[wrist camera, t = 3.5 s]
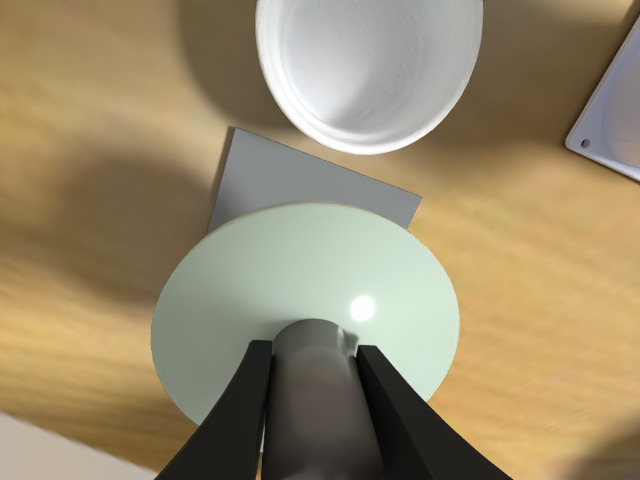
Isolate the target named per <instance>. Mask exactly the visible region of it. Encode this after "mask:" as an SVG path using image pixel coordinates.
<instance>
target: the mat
mask: <svg viewBox="0 0 640 480" xmlns="http://www.w3.org/2000/svg"><path fill="white" fill-rule="evenodd" d="M421 199H422V197H420V196H418V195H416V194H413V193H410V192H408V191H405V190H402V189H400V188H397V187H394V186H392V185H389V184H386V183H384V182H381V181H379V180H376V179H373V178H371V177H368V176H365V175H363V174H360V173H357V172H355V171H352V170H349V169H347V168H344V167H341V166H339V165H336V164H333V163H331V162H328V161H325V160H323V159H320V158H317V157H315V156H312V155H309V154H307V153H304V152H301V151H299V150H296V149H294V148H291V147H288V146H286V145H283V144H280V143H278V142H275V141H272V140H270V139H267V138H264V137H262V136H259V135H256V134H254V133H251V132H248V131H246V130H243V129H240V128H238V127H236V129H235V133H234V136H233V140H232V144H231V147H230V151H229V154H228V158H227V162H226V165H225V169H224V173H223V176H222V180H221V184H220V187H219V191H218V195H217V198H216V202H215V206H214V209H213V213H212V216H211V220H210V224H209V227H208V231H207V235H208V234H209V233H211V232H212V231H214V230H215V229H217V228H218V227H220V226H221V225H223V224H224V223H226V222H228V221H230V220H232V219H234V218H236V217H238V216H240V215H242V214H245V213H247V212H250V211H253V210H256V209H259V208H262V207H265V206H270V205H274V204H279V203H284V202H291V201H304V200H320V201H335V202H340V203H346V204H351V205H356V206H359V207H362V208H365V209H368V210H371V211H374V212H377V213H379V214H381V215H383V216H385V217H387V218H389V219H391V220H393V221H395V222H396V223H398V224H399V225H401V226H402V227H404V228H405V229H407V228H408V226H409V224H410V222H411V220H412V218H413V216H414V213H415V211H416V209H417V207H418V205H419V203H420V201H421Z"/></svg>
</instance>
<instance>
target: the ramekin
mask: <svg viewBox="0 0 640 480" xmlns="http://www.w3.org/2000/svg"><path fill="white" fill-rule="evenodd" d="M482 26H483V0H257V6H256V14H255V33H256V46H257V52H258V58H259V62H260V67H261V69H262V72H263V76H264V78H265V81H266V84H267V87H268V88H269V90H270V92H271V94H272V96H273V98H274V100H275V101H276V103H277V105H278V106H279V108H280V109H281V111H282V112H283V113H284V114H285V116H286V117H287V118H288V119H289V120H290V121H291V123H292V124H293V125H294V126H296V127H297V128H298V129H299V130H300V131H301V132H302V133H304V134H305V135H306V136H308V137H309V138H311V139H312V140H313V141H315V142H317V143H319V144H321V145H323V146H325V147H328V148H330V149H333V150H336V151H339V152H344V153H348V154H356V155H373V154H381V153H386V152H390V151H394V150H397V149H399V148H402V147H405V146H407V145H409V144H411V143H413V142H415V141H416V140H418V139H420V138H421V137H423V136H424V135H426V134H427V133H429V132H430V131H431V130H433V129H434V128H435V127H436V126H437V125H438V124H439V123H440V122H441V121H442V120H443V119H444V118H445V117H446V116H447V114H448V113H449V112H450V111H451V109H452V108H453V107H454V105H455V104H456V102H457V101H458V100H459V98H460V97H461V95H462V93H463V91H464V89H465V87H466V86H467V84H468V81H469V79H470V76H471V74H472V71H473V68H474V66H475V63H476V60H477V56H478V53H479V49H480V44H481V39H482Z"/></svg>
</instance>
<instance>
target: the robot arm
mask: <svg viewBox="0 0 640 480" xmlns="http://www.w3.org/2000/svg"><path fill="white" fill-rule="evenodd" d="M583 140H584V144H583V146H582V147H581V143H582V141H583ZM565 144H566V147H567V148H569V149H571V150H573V151H575V152H577V153H579V154H581V155H584V156H586V157H588V158H590V159H592V160H594V161H597V162H599V163H601V164H603V165H605V166H607V167H610V168H612V169H614V170H616V171H618V172H620V173H623V174H625V175H627V176H629V177H631V178H633V179H635V180H638V181H640V16H639V17H638V19H637V21H636V22H635V24H634V26H633V28H632V29H631V31H630V33H629V34H628V36H627V38H626V39H625V41H624V43H623V44H622V46H621V48H620V49H619V51H618V53H617V54H616V56H615V58H614V59H613V61H612V63H611V64H610V66H609V68H608V69H607V71H606V73H605V74H604V76H603V78H602V79H601V81H600V83H599V84H598V86H597V88H596V89H595V91H594V93H593V94H592V96H591V98H590V99H589V101H588V103H587V104H586V106H585V108H584V109H583V111H582V113H581V114H580V116H579V118H578V119H577V121H576V123H575V124H574V126H573V128H572V129H571V131H570V133H569V134H568V136H567V138H566V142H565ZM271 357H272V340H252V341H251V342H249V345H248V348H247V350H246V353H245V355H244V357H243V359H242V361H241V363H240V365H239V367H238V369H237V371H236V372H235V374H234V376H233V377H232V379H231V381H230V382H229V384H228V386H227V387H226V389H225V390H224V392H223V394H222V395H221V397H220V398H219V399H218V401H217V402H216V404H215V405H214V407H213V408H212V410H211V411H210V412H209V414H208V415H207V417H206V418H205V419H204V421H203V422H202V423H201V425H200V426H199V427H198V429H197V430H196V431H195V432H194V434H193V435H192V436H191V437H190V439H189V440H188V441H187V442H186V444H185V445H184V446H183V447H182V448H181V450H180V451H179V452H178V453H177V454H176V455H175V457H174V458H173V459H172V460H171V461H170V462H169V463H168V465H167V466H166V467H165V468H164V469H163V470H162V471H161V472H160V474H159V475H158V476H157V477H156V478H155V479H154V480H256V474H257V468H258V462H259V456H260V450H261V444H262V438H263V432H264V426H265V415H266V402H267V392H268V385H269V378H270V367H271ZM356 362H357V366H358V370H359V373H360V377H361V381H362V385H363V388H364V392H365V396H366V400H367V404H368V407H369V411H370V415H371V419H372V422H373V426H374V430H375V434H376V437H377V441H378V445H379V449H380V452H381V456H382V460H383V473H382V477H381V479H380V480H513V479H512V478H511V477H509V476H508V475H507V474H505V473H504V472H503V471H502V470H500V469H499V468H498V467H496V466H495V465H494V464H493V463H491V462H490V461H489V460H488V459H486V458H485V457H484V456H483V455H482V454H480V453H479V452H478V451H477V450H476V449H475V448H473V447H472V446H471V445H470V444H469V443H468V442H467V441H466V440H464V439H463V438H462V437H461V436H460V435H459V434H458V433H456V432H455V431H454V430H453V429H452V428H451V427H450V426H449V425H448V424H447V423H446V422H445V421H444V420H443V419H442V418H441V417H440V416H439V415H438V414H437V413H436V412H435V411H434V410H433V409H432V408H431V407H430V406H429V405H428V404H427V403H426V402H425V401H424V400H423V399H422V398H421V397H420V396H419V395H418V393H417V392H416V391H415V390H414V389H413V388H412V387H411V386H410V385H409V383H408V382H407V381H406V380H405V379H404V378H403V377H402V375H401V374H400V373H399V372H398V371H397V370H396V368H395V367H394V366H393V365H392V364H391V362H390V361H389V360H388V359H387V358H386V357H385V355H384V354H383V353H382V352H381V351H380V349H379V348H378V347H377V346H376V345H358V348H357V353H356Z"/></svg>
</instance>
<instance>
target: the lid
mask: <svg viewBox="0 0 640 480" xmlns="http://www.w3.org/2000/svg"><path fill="white" fill-rule="evenodd" d="M459 329H460V326H459V309H458V303H457V298H456V295H455V292H454V289H453V286H452V284H451V281H450V279H449V277H448V276H447V274H446V272H445V270H444V268H443V267H442V265H441V264H440V263H439V261H438V260H437V259H436V258H435V256H434V255H433V254H432V253H431V251H430V250H429V249H428V248H427V247H426V246H425V245H424V244H423V243H422V242H420V241H419V240H418V239H417V238H416V237H415V236H414V235H413V234H412V233H411V232H410V231H408V230H407V229H405V228H404V227H402V226H401V225H399V224H398V223H396V222H395V221H393V220H391V219H389V218H387V217H385V216H383V215H381V214H379V213H377V212H374V211H371V210H368V209H365V208H362V207H359V206H356V205H351V204H346V203H340V202H335V201H320V200H304V201H291V202H284V203H279V204H274V205H270V206H265V207H262V208H259V209H256V210H253V211H250V212H247V213H245V214H242V215H240V216H238V217H236V218H234V219H232V220H230V221H228V222H226V223H224V224H223V225H221V226H220V227H218V228H217V229H215V230H214V231H212V232H211V233H209V234H208V235H206V236H205V237H204V238H203V239H202V240H201V241H200V242H199V243H197V244H196V245H195V246H194V247H193V248H192V249H191V250H190V251H189V252H188V253H187V255H186V256H185V257H184V258H183V260H182V261H181V262H180V263H179V265H178V266H177V267H176V269H175V270H174V272H173V273H172V274H171V276H170V278H169V280H168V281H167V283H166V285H165V286H164V288H163V290H162V292H161V294H160V297H159V299H158V302H157V304H156V307H155V310H154V315H153V320H152V325H151V350H152V357H153V362H154V365H155V368H156V371H157V374H158V377H159V379H160V381H161V383H162V385H163V387H164V389H165V391H166V392H167V394H168V395H169V397H170V398H171V399H172V401H173V402H174V404H175V405H176V406H177V407H178V408H179V409H180V410H181V411H182V412H183V413H184V414H185V415H186V416H187V417H188V418H189V419H190V420H192V421H193V422H194V423H195V424H197V425H198V426H200V425H201V423H202V422H203V421H204V419H205V418H206V417H207V415H208V414H209V412H210V411H211V410H212V408H213V407H214V405H215V404H216V402H217V401H218V399H219V398H220V397H221V395H222V394H223V392H224V390H225V389H226V387H227V386H228V384H229V382H230V381H231V379H232V377H233V376H234V374H235V372H236V371H237V369H238V367H239V365H240V363H241V361H242V359H243V357H244V355H245V353H246V350H247V348H248V345H249V342H251V341H252V340H272V357H271V367H270V378H269V385H268V392H267V402H266V415H265V426H264V432H263V438H262V444H261V450H260V452H263V456H262V469H261V480H380V479H381V477H382V473H383V460H382V456H381V452H380V449H379V445H378V441H377V437H376V434H375V430H374V426H373V422H372V419H371V415H370V411H369V407H368V404H367V400H366V396H365V392H364V388H363V385H362V381H361V377H360V373H359V370H358V366H357V362H356V353H357V348H358V345H376V346H377V347H378V348H379V349H380V351H381V352H382V353H383V354H384V355H385V357H386V358H387V359H388V360H389V361H390V362H391V364H392V365H393V366H394V367H395V368H396V370H397V371H398V372H399V373H400V374H401V375H402V377H403V378H404V379H405V380H406V381H407V382H408V383H409V385H410V386H411V387H412V388H413V389H414V390H415V391H416V392H417V393H418V395H419V396H420V397H421V398H422V399H423V400H424V401H425V402H427V401H428V400H429V398H430V397H431V396H432V394H433V393H434V392H435V391H436V389H437V388H438V387H439V385H440V384H441V382H442V380H443V379H444V377H445V376H446V374H447V372H448V370H449V367H450V365H451V363H452V361H453V358H454V354H455V351H456V348H457V344H458V337H459Z"/></svg>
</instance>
